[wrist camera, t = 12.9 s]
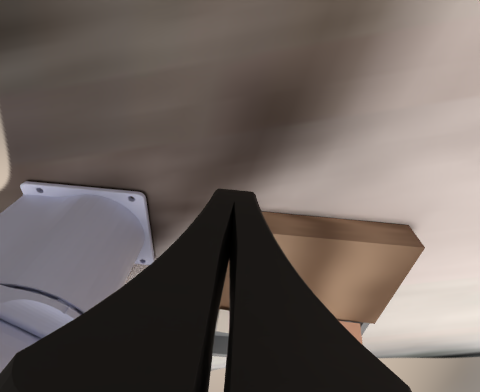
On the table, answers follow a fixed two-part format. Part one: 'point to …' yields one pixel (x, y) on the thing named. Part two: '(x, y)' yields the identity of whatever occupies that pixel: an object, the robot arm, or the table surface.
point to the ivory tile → (222, 321)
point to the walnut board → (345, 261)
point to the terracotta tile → (353, 329)
